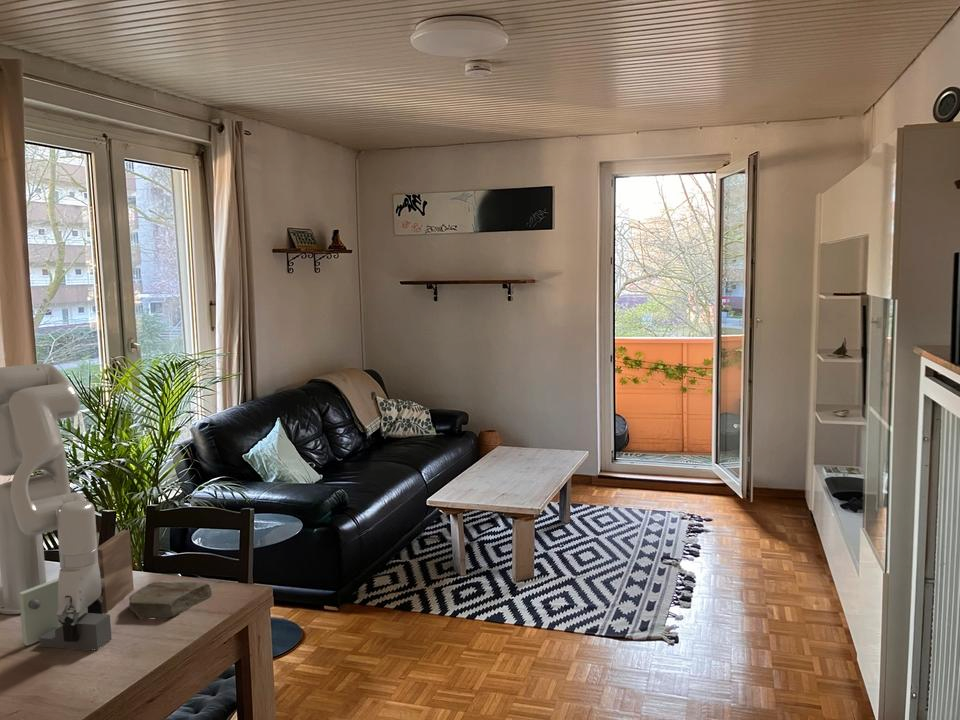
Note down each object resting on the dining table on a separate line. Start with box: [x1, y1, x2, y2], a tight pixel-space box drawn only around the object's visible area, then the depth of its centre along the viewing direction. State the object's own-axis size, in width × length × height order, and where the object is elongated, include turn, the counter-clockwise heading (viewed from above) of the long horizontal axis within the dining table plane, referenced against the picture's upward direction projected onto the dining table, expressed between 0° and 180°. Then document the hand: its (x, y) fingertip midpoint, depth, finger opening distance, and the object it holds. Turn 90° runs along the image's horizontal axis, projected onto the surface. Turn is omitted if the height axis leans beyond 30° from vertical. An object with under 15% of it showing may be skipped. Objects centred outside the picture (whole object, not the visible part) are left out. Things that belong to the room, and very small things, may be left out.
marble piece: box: [128, 581, 213, 620], centre depth 192 cm, size 17×15×4 cm
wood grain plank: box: [97, 529, 135, 614], centre depth 194 cm, size 2×14×16 cm, turn 178°
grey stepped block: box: [38, 613, 112, 651], centre depth 173 cm, size 14×5×6 cm, turn 82°
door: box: [19, 577, 88, 646], centre depth 178 cm, size 3×18×12 cm, turn 151°
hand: (84, 630), depth 174 cm, fingers open, 9 cm apart
